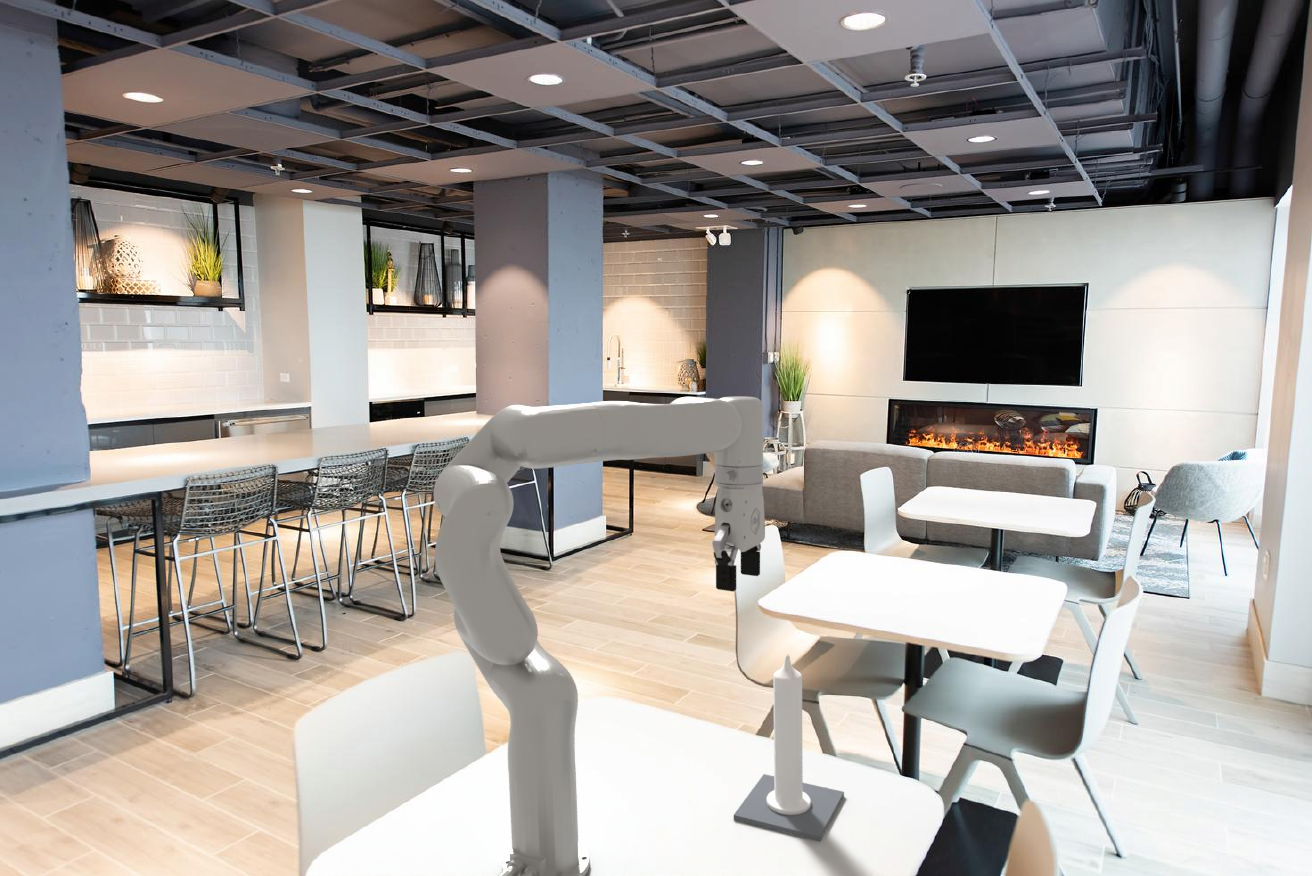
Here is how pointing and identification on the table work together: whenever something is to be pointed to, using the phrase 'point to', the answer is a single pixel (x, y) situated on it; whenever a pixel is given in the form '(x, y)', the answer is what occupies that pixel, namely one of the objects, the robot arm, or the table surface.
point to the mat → (801, 824)
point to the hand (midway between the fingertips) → (738, 582)
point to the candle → (788, 743)
